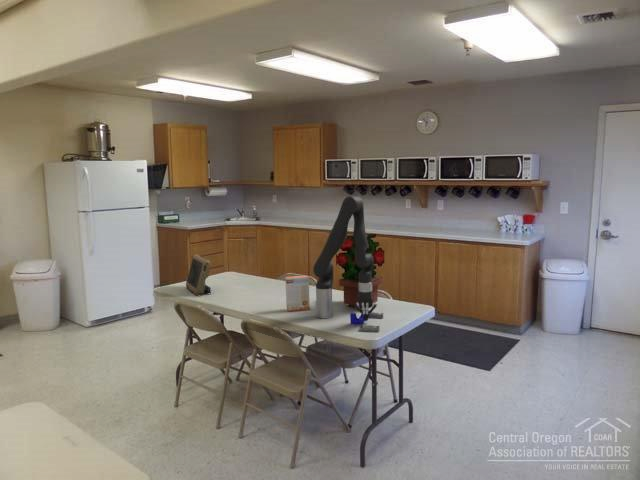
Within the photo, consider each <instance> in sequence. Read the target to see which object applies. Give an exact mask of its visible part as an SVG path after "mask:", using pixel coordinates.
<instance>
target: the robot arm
mask: <svg viewBox="0 0 640 480" xmlns="http://www.w3.org/2000/svg"><path fill="white" fill-rule="evenodd" d="M352 217H353V232H352V234H353V236H354V242H355V247H356V250H355V261H356V264H357V266H358V267H360V268H362V271H360V272H359V285H358V290H359V300H358V302H357V303H355V305H354V306H355V307H356V308H355V309H356V310H357V311H358V313H359V314H361V313H362V314H363V320H364V322H368V320H369V318H368V314H369V313H373V311H374V310H375V309H376V308H377V306H378V304H377V303H376V302H375V303H374V302H373V300H372V280H371V274H372V270H373V265H375V264H374V259H373V257H372V255H371V254H365V250H366V249H367V248H369V245H368V242H367V237H368V236H367V233H366V225H365V212H364V201H363V199H362V197H360V196H358V195H349V196H346V197H345V198H344V199H343V201H342V203H341V206H340V208H339V212H338V215H337V217H336V219H335V222H334V224H333V226H332V228H331V230H330V232H329V234H328V237H327V239H326V241H325V243H324V246H323V248H322V250H321V251H320V252H321V253H320V255H319V257H318V258H317V259H316V261H315V263H314V265H313V268H312V269H313V271H312V272H313V274H314V275H315V277H317V278H318V280H317V281H316V283H315V294H316V295H315V297H316V298H315V301H314V302H315V304H314V305H315V318H319V319H329V318H332V317H333V282H334V265H333V263H332V260H333V258H334V257H335V256H336V254H337V253H338V252H339V251H340V250H341V249H340V248H341V247H342V245H343V243H344V241H345V239H346V238H347V235H348V230H349V229H348V227H349V223H350V220H351V218H352ZM372 304H373V305H372ZM359 305H360V306H361V307H362V309H361V308H360V307H359ZM371 305H372V306H371ZM365 308H366V311H365ZM362 310H363V311H362ZM365 312H366V313H365Z"/></svg>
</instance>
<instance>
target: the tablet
mask: <svg viewBox="0 0 640 480" xmlns="http://www.w3.org/2000/svg"><path fill="white" fill-rule="evenodd" d="M210 271H211V261H210V260H209V259H206V258H204V257H202V256H200V255H199V254H196V253H195V254H194V255H193V256H192V257H191V262H190V267H189V269H188V276H187V278H186V283H185V286H186V288H187V290H189V291H190V292H191V293H193V294H194V295H195V296H196V295H202V296H203V295H204V294H205V291H206V294H208V293H211V294H212V289H211V287H210V286H209V285H207V284H206V279H207V278H209V276H210Z"/></svg>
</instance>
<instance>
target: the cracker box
mask: <svg viewBox="0 0 640 480" xmlns="http://www.w3.org/2000/svg"><path fill="white" fill-rule="evenodd" d="M284 280H285V297H286V299H285V301H286V311H287V312H288V313H289V312H298V311H310V310H311V309H310V308H311V304H310V298H311V297H310V277H309V276H308V275H294V276H293V275H292V276H285V279H284Z"/></svg>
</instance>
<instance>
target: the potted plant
mask: <svg viewBox="0 0 640 480" xmlns="http://www.w3.org/2000/svg"><path fill="white" fill-rule="evenodd" d="M366 237H367V242H368V248H367V249H366V250H365V254H371V255H372V257H373V259H374V265H373V270H372V274H371V280H372V300H373V302H374V303H375V304H376V303H377V302H378V300H379V298H378V291H379V289H378V286H379V285H380V284H382V283H383V281H382V279H383V278H382V276H378V275H377V271H375V270H377V266H378V267H382V266H383V264H385V250H384V249H383V248H382V247H379V246H380V242H378V241H374V240H373V239H375V238H376V237H377V233H371V234H370V233H369V234H368V233H367V236H366ZM339 250H341V251H342V252H339V253H338V254H337V253H336V254H335V263H336V264H335V266H337V265H338V266H339V267H341V269H343V270H344V272H343V273H342V274H341V278H340V279H339V284H338V285H339V287H343V305H348V306H347V307H349V308H355V309H357V308H356V307H355V306H354V305H355V303H357V302H358V300H359V290H358V285H359V272H360V271H362V268H360V267H358V266H357V264H356V261H355V250H356V247H355V242H354V236H353V235H351V234H349V235H348V234H347V236H346V239H345V241H344V243H343V245H342V247H341V248H340V249H339ZM372 305H373V304H372ZM372 305H371V306H370V307H372ZM359 307H360V308H361V309H362V307H361V306H360V305H359ZM365 309H366V308H365Z"/></svg>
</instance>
